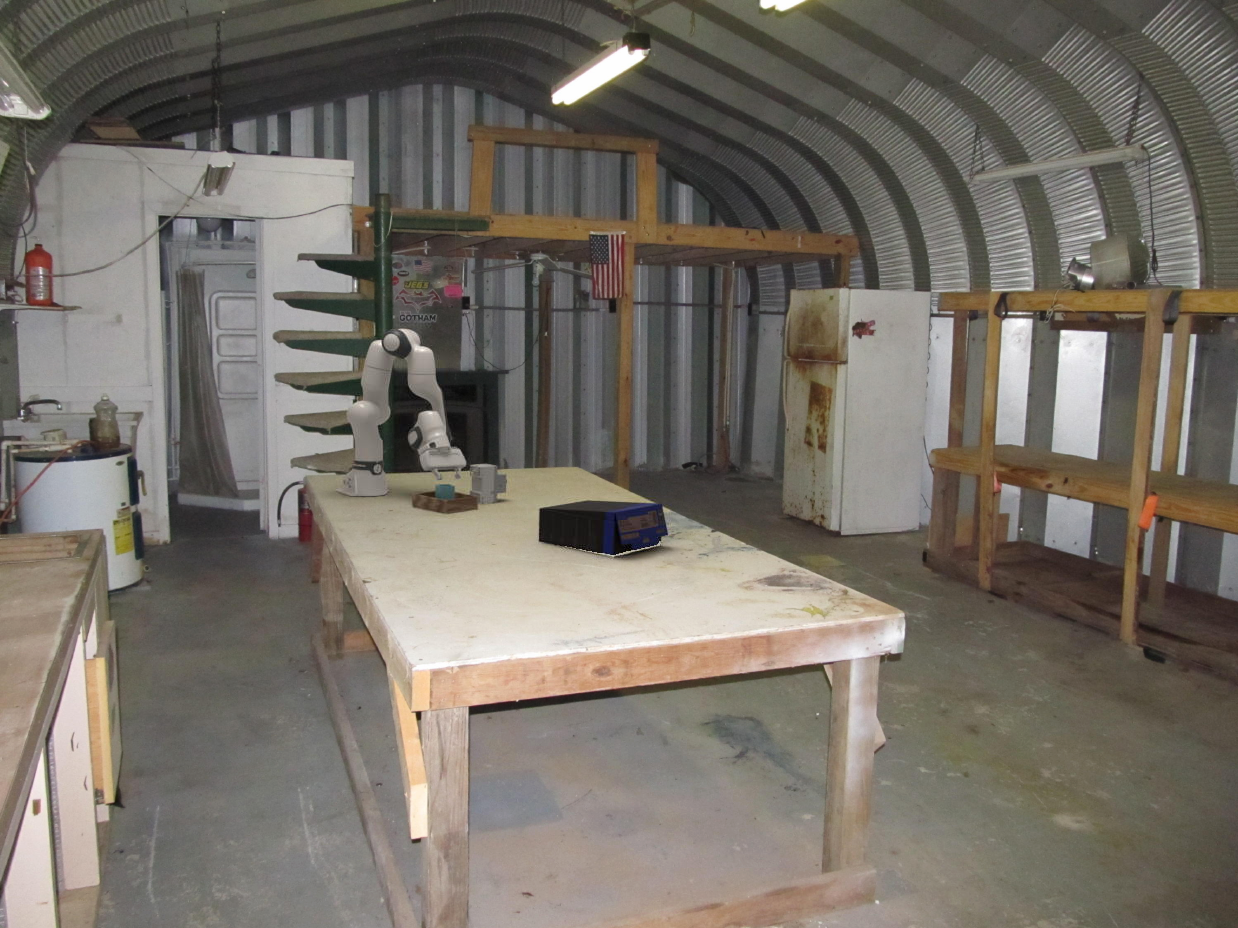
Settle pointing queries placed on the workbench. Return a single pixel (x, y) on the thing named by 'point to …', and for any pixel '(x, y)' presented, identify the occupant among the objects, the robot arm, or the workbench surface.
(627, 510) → the black and blue box
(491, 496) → the circuit breaker
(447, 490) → the teal crate
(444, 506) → the walnut crate
